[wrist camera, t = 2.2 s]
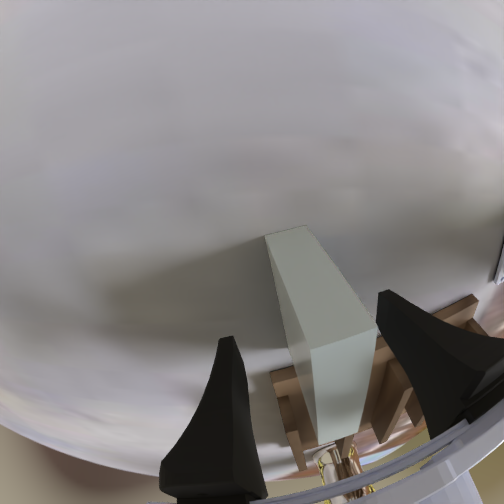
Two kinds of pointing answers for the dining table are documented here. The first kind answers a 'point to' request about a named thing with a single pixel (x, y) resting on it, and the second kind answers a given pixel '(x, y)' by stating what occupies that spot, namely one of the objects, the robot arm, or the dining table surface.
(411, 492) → the robot arm
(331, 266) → the tile
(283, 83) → the dining table surface
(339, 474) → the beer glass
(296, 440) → the rack
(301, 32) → the dining table surface
